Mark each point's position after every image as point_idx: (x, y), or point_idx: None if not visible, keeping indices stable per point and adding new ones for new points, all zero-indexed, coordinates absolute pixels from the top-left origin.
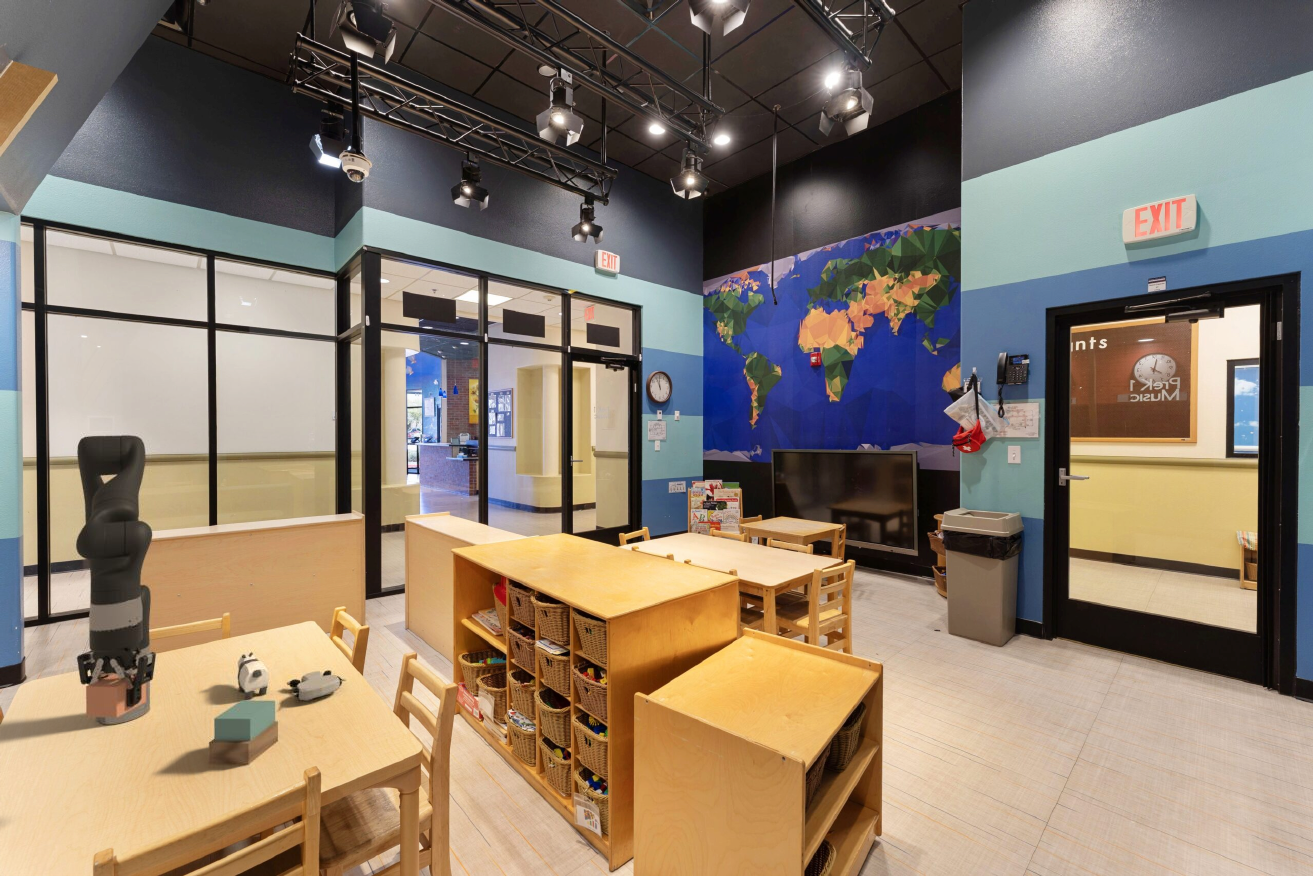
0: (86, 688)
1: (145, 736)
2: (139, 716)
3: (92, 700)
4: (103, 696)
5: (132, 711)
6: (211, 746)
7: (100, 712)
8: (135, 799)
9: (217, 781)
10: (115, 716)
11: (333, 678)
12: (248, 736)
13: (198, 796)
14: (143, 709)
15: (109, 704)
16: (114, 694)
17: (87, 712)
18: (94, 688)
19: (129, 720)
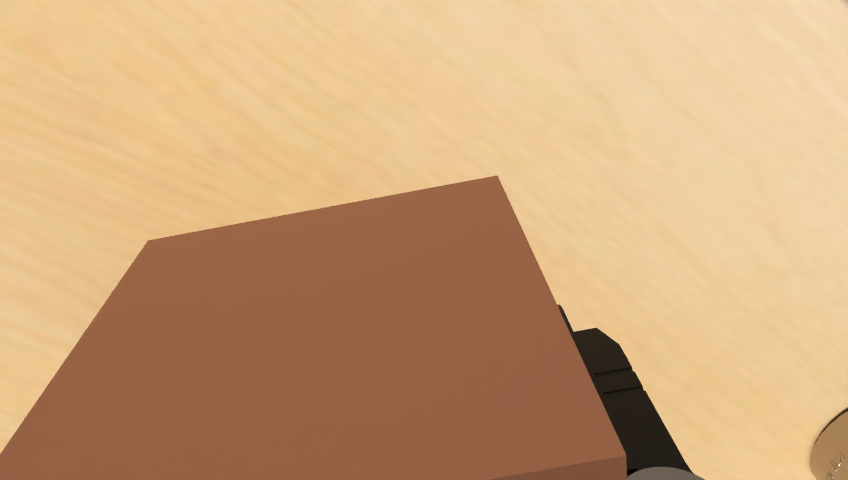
0: (603, 422)
1: (679, 381)
2: (814, 447)
3: (439, 295)
4: (256, 376)
5: (844, 456)
6: None
7: (330, 231)
8: (287, 106)
9: (91, 263)
10: (160, 244)
11: None
12: None
13: (49, 180)
14: (823, 473)
15: (186, 312)
16: (33, 442)
17: (491, 197)
18: (427, 458)
19: (829, 425)
